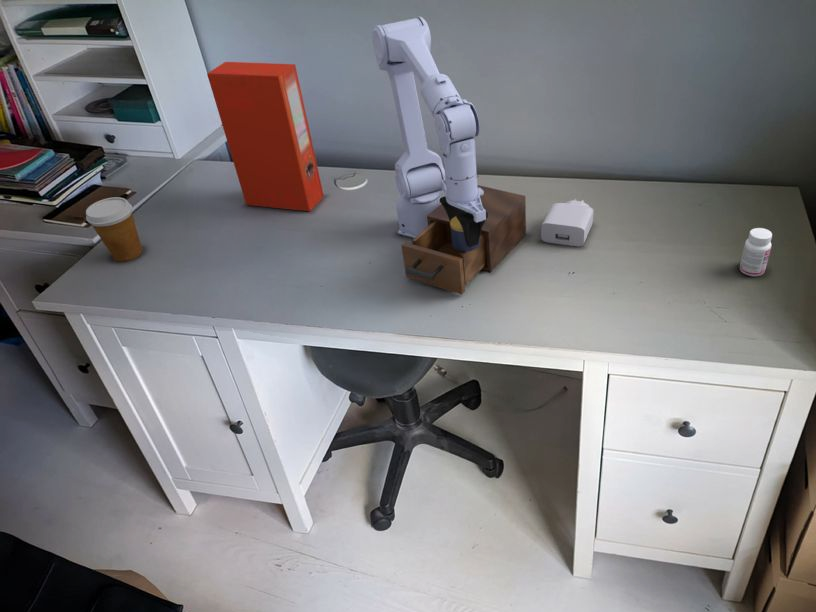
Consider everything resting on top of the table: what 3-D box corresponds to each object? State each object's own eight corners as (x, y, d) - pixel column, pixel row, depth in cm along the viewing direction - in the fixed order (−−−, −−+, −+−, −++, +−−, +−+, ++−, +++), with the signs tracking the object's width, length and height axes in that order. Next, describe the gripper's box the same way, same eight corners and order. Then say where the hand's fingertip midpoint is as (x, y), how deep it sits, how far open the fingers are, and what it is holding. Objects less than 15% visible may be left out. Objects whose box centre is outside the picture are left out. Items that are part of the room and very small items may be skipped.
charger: (598, 212, 159) (583, 247, 149) (558, 207, 162) (541, 241, 151) (599, 193, 156) (584, 228, 145) (559, 188, 159) (541, 222, 148)
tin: (459, 254, 133) (457, 232, 130) (447, 241, 137) (445, 219, 134) (485, 246, 135) (484, 223, 132) (472, 233, 139) (470, 211, 136)
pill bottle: (765, 278, 136) (774, 241, 131) (739, 275, 137) (747, 238, 132) (764, 264, 140) (774, 227, 134) (739, 262, 141) (747, 225, 135)
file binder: (262, 190, 178) (225, 60, 157) (324, 195, 174) (294, 63, 153) (246, 206, 172) (206, 74, 151) (309, 212, 168) (277, 77, 147)
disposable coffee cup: (158, 246, 161) (139, 200, 153) (127, 269, 154) (105, 221, 146) (128, 239, 164) (107, 193, 156) (96, 261, 158) (73, 214, 150)
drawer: (450, 307, 135) (446, 273, 129) (393, 289, 140) (387, 256, 135) (498, 257, 146) (496, 224, 141) (444, 242, 152) (440, 210, 147)
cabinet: (490, 272, 144) (488, 231, 138) (431, 255, 150) (426, 215, 144) (526, 235, 154) (525, 195, 147) (468, 220, 160) (466, 182, 154)
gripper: (499, 183, 122) (502, 249, 131) (462, 152, 132) (467, 215, 141) (463, 194, 120) (468, 260, 129) (428, 162, 130) (435, 225, 139)
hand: (465, 237), depth 135 cm, fingers closed on tin, 5 cm apart
